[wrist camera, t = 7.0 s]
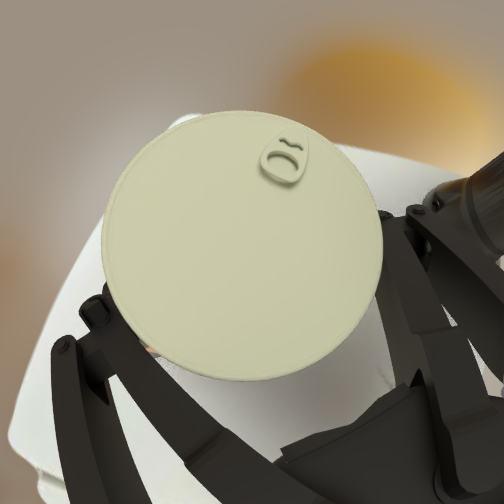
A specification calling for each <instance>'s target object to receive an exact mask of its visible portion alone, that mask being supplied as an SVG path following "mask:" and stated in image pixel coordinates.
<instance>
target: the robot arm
mask: <svg viewBox="0 0 504 504" xmlns="http://www.w3.org/2000/svg"><path fill="white" fill-rule="evenodd" d="M378 214H379V218H380V222H381V228H382V236H383V261H382V269H381V274H380V279H379V282H378V286H377V289H376V292H375V297H376V300H377V304H378V308H379V311H380V315H381V319H382V323H383V327H384V331H385V335H386V339H387V343H388V348H389V352H390V357H391V361H392V366H393V371H394V376H395V382H396V388H394V389H393V390H391V391H390V392H388V393H386V394H385V395H383V396H382V397H380V398H379V399H377V400H376V401H375V402H374V403H373V404H372V405H371V406H370V407H369V408H368V409H367V410H366V411H365V412H364V413H363V414H362V415H361V416H360V417H359V418H358V419H357V420H356V421H355V422H353V423H352V424H350V425H347V426H343V427H339V428H335V429H332V430H328V431H323V432H319V433H315V434H312V435H310V436H308V437H306V438H304V439H301V440H299V441H297V442H295V443H292V444H290V445H287V446H285V447H283V448H280V449H281V452H282V454H283V455H282V456H281V457H280V458H278V459H277V460H276V461H274V462H273V463H271V462H270V461H268V460H267V459H266V458H264V457H263V456H262V455H261V454H259V453H258V452H257V451H255V450H254V449H253V448H252V447H250V446H249V445H248V444H246V443H245V442H244V441H243V440H242V439H240V438H239V437H238V436H237V435H235V434H234V433H233V432H232V431H230V430H229V429H227V428H225V427H223V426H222V425H221V424H220V423H218V422H217V421H216V420H215V419H214V418H213V417H212V416H211V415H210V414H208V413H207V412H206V411H205V410H204V409H203V408H202V407H201V406H200V405H199V404H198V403H197V402H196V401H195V400H194V399H193V398H192V397H191V396H190V395H189V394H188V393H187V392H185V391H184V390H183V388H182V387H181V386H180V385H179V384H178V383H177V382H176V381H175V380H174V379H173V378H172V377H171V376H170V375H169V374H168V373H167V372H166V371H165V370H164V369H163V368H162V367H161V365H160V364H159V363H158V362H157V361H156V360H155V359H154V358H153V357H152V356H151V354H150V353H149V352H148V351H147V350H146V349H145V348H148V347H149V346H148V345H147V344H146V343H145V342H143V341H142V340H141V339H140V338H139V337H138V335H137V334H136V333H135V332H134V331H133V330H132V328H131V327H130V326H129V324H128V323H127V322H126V321H125V319H124V318H123V316H122V314H121V313H120V311H119V309H118V307H117V306H116V304H115V302H114V300H113V297H112V295H111V293H110V290H109V287H108V285H107V281H106V283H105V284H104V286H103V290H102V294H98V295H94V296H92V297H90V298H89V299H87V300H86V301H85V302H84V303H83V304H82V305H81V307H80V309H79V316H80V317H81V318H82V320H83V321H84V323H85V324H86V325H87V327H88V328H89V330H90V332H89V333H88V334H86V335H85V336H83V337H82V338H80V339H79V340H76V339H75V338H74V337H73V336H72V335H65V336H62V337H61V338H59V339H58V340H57V341H56V342H55V343H54V345H53V347H52V349H51V388H52V403H53V414H54V424H55V432H56V439H57V446H58V452H59V457H60V462H61V467H62V472H63V477H64V481H65V485H66V489H67V493H68V497H69V500H70V504H152V502H151V500H150V498H149V496H148V493H147V491H146V489H145V487H144V484H143V482H142V480H141V477H140V475H139V473H138V470H137V468H136V465H135V463H134V460H133V458H132V455H131V452H130V450H129V447H128V444H127V441H126V438H125V435H124V432H123V429H122V426H121V423H120V420H119V417H118V413H117V410H116V407H115V403H114V399H113V396H112V392H111V388H110V384H109V380H108V378H110V377H111V376H113V375H115V374H116V375H117V376H118V378H119V379H120V381H121V382H122V384H123V385H124V387H125V388H126V390H127V391H128V393H129V394H130V395H131V397H132V398H133V400H134V401H135V402H136V404H137V405H138V407H139V408H140V409H141V411H142V412H143V413H144V415H145V416H146V417H147V418H148V420H149V421H150V422H151V424H152V425H153V426H154V427H155V429H156V430H157V431H158V432H159V434H160V435H161V436H162V437H163V438H164V440H165V441H166V442H167V443H168V444H169V445H170V447H171V448H172V449H173V450H174V451H175V452H176V453H177V455H178V456H179V457H180V458H181V459H182V460H183V462H184V465H185V467H186V468H187V469H188V470H189V472H190V473H191V474H192V475H193V476H194V477H195V478H196V479H197V480H198V481H199V482H200V483H201V484H202V485H203V486H204V487H205V488H206V489H207V490H208V491H209V492H210V493H211V494H212V495H213V496H214V497H215V498H217V499H218V500H219V501H220V502H221V503H222V504H504V387H503V388H502V390H501V395H502V397H496V396H489V395H488V393H487V390H486V387H485V384H484V381H483V378H482V375H481V372H480V369H479V367H478V364H477V361H476V359H475V356H474V353H473V351H472V348H471V346H470V343H469V341H470V342H471V344H472V345H473V346H474V348H475V349H476V351H477V352H478V354H479V355H480V356H481V358H482V359H483V361H484V362H485V364H486V365H487V366H488V368H489V369H490V370H491V372H492V373H493V374H494V375H495V376H496V377H497V378H498V379H499V380H500V381H501V382H502V383H503V384H504V271H503V270H502V269H501V268H500V267H499V266H498V265H497V264H496V263H495V262H496V261H497V260H498V259H499V258H500V257H501V256H503V255H504V152H502V153H501V154H500V155H499V156H497V157H496V158H495V159H493V160H492V161H491V162H489V163H488V164H487V165H485V166H484V167H483V168H481V169H480V170H479V171H477V172H476V173H474V174H473V175H472V176H470V177H468V178H463V179H459V180H454V181H449V182H445V183H442V184H440V185H438V186H437V187H436V188H434V189H433V190H432V191H430V192H429V193H428V194H427V196H426V197H425V199H424V202H423V205H419V204H415V205H410V206H408V207H407V208H406V216H401V217H394V216H393V215H392V214H391V213H389V212H387V211H382V210H378ZM441 304H442V305H443V306H444V307H445V309H446V310H447V311H448V313H449V314H450V315H451V316H452V318H453V319H454V320H455V322H456V323H457V324H458V326H453V327H452V326H451V324H450V323H449V320H448V318H447V316H446V313H445V311H444V309H443V307H442V305H441ZM467 338H468V339H469V341H468V339H467ZM139 341H140V342H141V343H140V342H139Z"/></svg>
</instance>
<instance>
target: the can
mask: <svg viewBox="0 0 504 504" xmlns="http://www.w3.org/2000/svg"><path fill="white" fill-rule="evenodd" d="M101 253H102V263H103V269H104V273H105V277H106V281H107V285H108V287H109V290H110V293H111V295H112V297H113V300H114V302H115V304H116V306H117V307H118V309H119V311H120V313H121V314H122V316H123V318H124V319H125V321H126V322H127V323H128V324H129V326H130V327H131V328H132V330H133V331H134V332H135V333H136V334H137V335H138V337H139V338H140V339H141V340H142V341H143V342H145V343H146V344H147V345H148V346H149V347H150V348H151V349H153V350H154V351H155V352H157V353H158V354H159V355H161V356H162V357H164V358H165V359H167V360H168V361H170V362H172V363H173V364H175V365H177V366H179V367H181V368H183V369H186V370H188V371H191V372H193V373H196V374H199V375H202V376H206V377H210V378H214V379H220V380H227V381H241V382H244V381H261V380H268V379H273V378H278V377H282V376H286V375H289V374H292V373H295V372H297V371H300V370H302V369H304V368H306V367H308V366H310V365H312V364H314V363H316V362H318V361H319V360H321V359H322V358H324V357H325V356H327V355H328V354H329V353H331V352H332V351H333V350H335V349H336V348H337V347H338V346H339V345H340V344H341V343H342V342H343V341H344V340H345V339H346V338H347V337H348V336H349V335H350V334H351V333H352V332H353V331H354V329H355V328H356V327H357V326H358V324H359V323H360V321H361V320H362V318H363V317H364V315H365V313H366V312H367V310H368V308H369V306H370V304H371V302H372V299H373V297H374V294H375V292H376V289H377V286H378V282H379V279H380V274H381V269H382V261H383V236H382V228H381V222H380V218H379V214H378V210H377V207H376V204H375V202H374V199H373V197H372V194H371V192H370V190H369V188H368V186H367V184H366V183H365V181H364V179H363V177H362V176H361V174H360V173H359V171H358V170H357V169H356V167H355V166H354V165H353V163H352V162H351V161H350V160H349V159H348V158H347V157H346V156H345V154H344V153H342V152H341V151H340V150H339V149H338V148H337V147H336V146H335V145H334V144H332V143H331V142H330V141H329V140H327V139H326V138H324V137H323V136H321V135H320V134H318V133H317V132H315V131H314V130H312V129H310V128H308V127H307V126H304V125H302V124H300V123H298V122H295V121H293V120H290V119H287V118H284V117H281V116H277V115H273V114H269V113H263V112H255V111H223V112H217V113H211V114H207V115H203V116H199V117H196V118H193V119H190V120H187V121H185V122H182V123H180V124H178V125H176V126H174V127H172V128H170V129H169V130H167V131H165V132H163V133H162V134H160V135H159V136H158V137H156V138H155V139H154V140H152V141H151V142H150V143H148V144H147V145H146V146H145V147H144V148H143V149H142V150H141V151H140V152H139V153H138V154H137V155H136V156H135V157H134V158H133V160H132V161H131V162H130V163H129V164H128V166H127V167H126V168H125V170H124V171H123V173H122V175H121V176H120V178H119V179H118V181H117V183H116V185H115V187H114V189H113V191H112V194H111V196H110V198H109V201H108V205H107V207H106V211H105V215H104V220H103V226H102V235H101Z"/></svg>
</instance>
